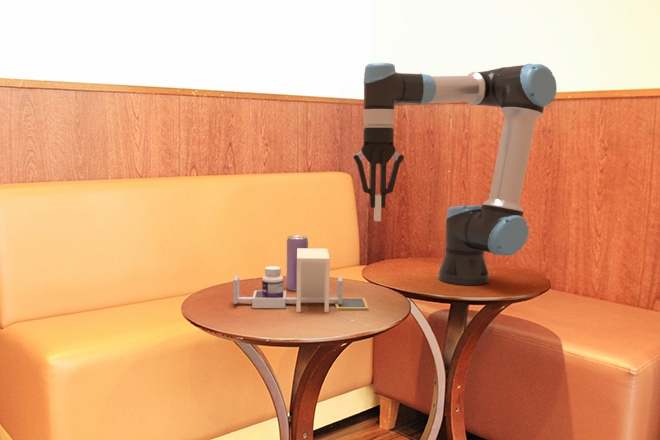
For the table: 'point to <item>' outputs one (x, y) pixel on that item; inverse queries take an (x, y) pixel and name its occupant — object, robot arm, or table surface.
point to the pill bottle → (272, 283)
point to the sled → (280, 302)
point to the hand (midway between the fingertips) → (377, 220)
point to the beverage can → (294, 259)
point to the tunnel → (312, 274)
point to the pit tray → (352, 304)
